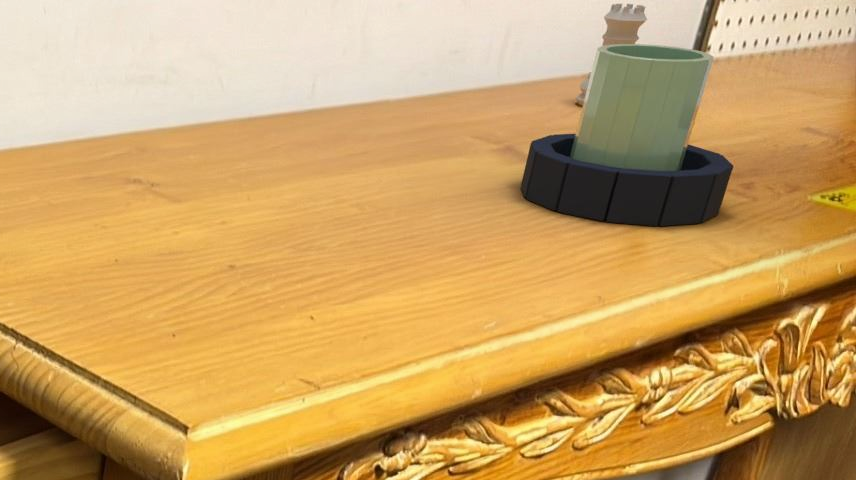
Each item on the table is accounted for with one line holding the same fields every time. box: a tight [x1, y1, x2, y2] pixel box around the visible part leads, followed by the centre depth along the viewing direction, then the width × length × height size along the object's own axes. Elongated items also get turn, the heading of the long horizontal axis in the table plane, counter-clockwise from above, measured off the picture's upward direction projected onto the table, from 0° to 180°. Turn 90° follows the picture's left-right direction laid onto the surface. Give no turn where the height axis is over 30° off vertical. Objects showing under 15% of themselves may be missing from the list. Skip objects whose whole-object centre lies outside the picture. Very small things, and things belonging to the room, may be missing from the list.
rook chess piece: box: [575, 3, 648, 107], centre depth 102 cm, size 4×4×8 cm
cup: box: [570, 43, 715, 171], centre depth 76 cm, size 6×6×9 cm
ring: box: [520, 133, 734, 227], centre depth 77 cm, size 11×11×3 cm
